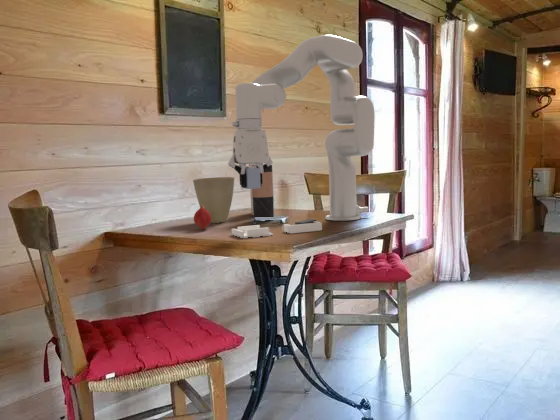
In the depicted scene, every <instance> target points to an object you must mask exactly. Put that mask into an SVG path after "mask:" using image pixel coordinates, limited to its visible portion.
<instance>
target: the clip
mask: <svg viewBox="0 0 560 420" xmlns="http://www.w3.org/2000/svg"><path fill="white" fill-rule="evenodd" d="M283 228H284V233H286V232H287V233H286V234H297V233H298V234H300V233H308V232H317V231H322V230H323V223H322V222H320V221H317V220H316V221H313V223H309V224H298V225H295V224H289V223H286V224H285V223H284V224H283Z"/></svg>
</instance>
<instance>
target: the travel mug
mask: <svg viewBox="0 0 560 420" xmlns="http://www.w3.org/2000/svg"><path fill="white" fill-rule="evenodd" d="M252 166H254V165H252ZM273 174H274V173H273V164H271V165H270V166H268V167H267V168H266V169H265V171H264V173H262V181H263V183H262V184H261V188H256V189H252V197H253V212H254V216H253V218H254V217H275V215H274V213H275V211H274V210H275V209H274V207H275V206H274V205H275V204H274V201H275V199H274V195H275V194H274V180H273Z"/></svg>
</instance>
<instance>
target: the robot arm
mask: <svg viewBox="0 0 560 420" xmlns="http://www.w3.org/2000/svg"><path fill="white" fill-rule="evenodd" d="M363 55H364V54H363V50H362V48H361V45H359V44H358V43H357V42H355V41H354V40H350V39H347V38H343V37H341V36H337V35H333V34H323V35H318V36H314V37H309V38H306V39H305V40H303V41H302V42H300V43H299V44H298V45H297V47H295V48H294V50H292V52H290V54H288V55H287V56H286V57H285V58H284V60H282V61H280V62H278V63H277V64H276V65H274V66H273V67H270V68H269V69H268V70H266V71H265V72H263V73H262V74H260V75H259V76H257V77H256V78H255V79H254V80H253V81H252V82H243V83H238V84H237V85H236V86H235V93H234V94H235V115H236V119H235V121H232V123H231V126H232V127H235V129H236V130H234V134H233V140H232V141H233V142H232V156H231V157H230V159H229V160H228V162H227V165H228V166H229V167H231V168H233V169H234V170H235V171H236V173H238V175H239V185H240V186H241V189H245V188H246V187H247V176H246V174H245V168H246V166H247V165H249V164H255V166H256V168H260V183H261V184H262V183H263V181H262V173H264V171H265V169H266V168H267V167H268V166H270V165H273V160H272V158H271V157H270V155H269V145H268V138H267V133H266V131H265V129H263V120H262V111H263V110H274V109H278V108H280V107H282V106H283V105H284V104H285V102H286V99H287V94H286V91H285V89H286V88H290V87H292V86H295V85H296V84H298V83H301V82H302V81H303V80H304V79H305V78H306V77H307V75H309V74H310V72H311V71H312V70H313V69H314V68H315V67H316V66H318V67H319V69H320V70H321V71H322V72H323V74H324V75H325V76H326V78H327V79H328V81H329V84H330V86H329V87H330V105H329V106H330V111H329V112H330V113H329V114H330V119H331V122H332V123H333V125H337V126H352V125H353V127H354V128H341V129H340V128H339V129H335V130H332V131H330V132H329V133H328V134H327V135H326V137H325V139H324V140H325V141H324V145H325V151H326V156H327V161H328V183H329V184H328V185H329V187H328V188H329V214H327V215H325V220H327V221H332V222H333V221H334V222H337V221H339V222H346V221H348V222H349V221H356V220H361V219H362V215H361V213H368V212H369V210H370V209H369V207H368V206H362V207H361V206H360V205H358V204H357V203H358V200H357V199H358V198H357V169H356V165H355V163H354V161H353V160H354V159H353V158H352V157H364V156H368V155H369V154H370V153H371V152H372V150H373V148H374V143H375V119H376V118H375V116H376V115H375V114H376V113H375V107H374V104H373V102H372V100H371V99H370V98H369V97H367V96H365V95H357V96H356V84H355V80H354V78H353V76H352V74H351V73H350V72H349V69H350V70H351V69H355V68H357V67H359V66H360V64H362V61H363ZM262 163H265V164H263V165H262ZM237 164H238V165H237Z"/></svg>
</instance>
